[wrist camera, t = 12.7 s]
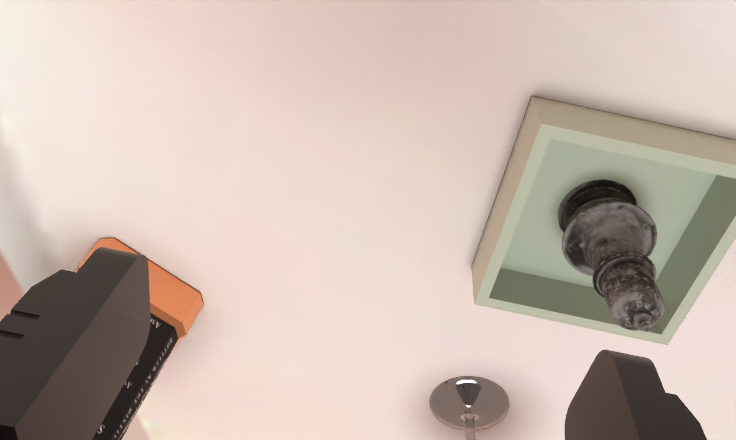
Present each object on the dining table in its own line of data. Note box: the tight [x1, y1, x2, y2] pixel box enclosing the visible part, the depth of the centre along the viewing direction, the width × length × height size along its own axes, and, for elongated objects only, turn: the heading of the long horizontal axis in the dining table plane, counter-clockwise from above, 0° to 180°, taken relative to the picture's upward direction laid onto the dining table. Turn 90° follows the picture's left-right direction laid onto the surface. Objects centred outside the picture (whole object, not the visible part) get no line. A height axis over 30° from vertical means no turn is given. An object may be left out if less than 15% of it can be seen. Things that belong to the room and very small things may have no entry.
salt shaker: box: [558, 179, 665, 332], centre depth 37 cm, size 6×6×12 cm
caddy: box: [472, 96, 736, 345], centre depth 40 cm, size 14×14×4 cm
